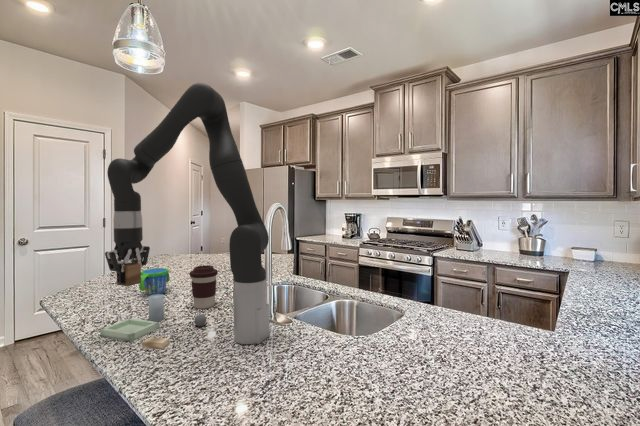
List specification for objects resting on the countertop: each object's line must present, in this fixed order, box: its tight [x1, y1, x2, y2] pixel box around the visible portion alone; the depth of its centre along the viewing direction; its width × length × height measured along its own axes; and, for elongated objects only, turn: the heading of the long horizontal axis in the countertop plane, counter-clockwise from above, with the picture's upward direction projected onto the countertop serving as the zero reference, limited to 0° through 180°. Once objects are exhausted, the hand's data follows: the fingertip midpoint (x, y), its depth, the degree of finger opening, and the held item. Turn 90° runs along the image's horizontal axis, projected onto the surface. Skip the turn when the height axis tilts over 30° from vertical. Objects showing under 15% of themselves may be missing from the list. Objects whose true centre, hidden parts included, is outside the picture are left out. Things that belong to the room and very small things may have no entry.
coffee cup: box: [189, 264, 218, 310], centre depth 125 cm, size 10×10×15 cm
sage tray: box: [99, 317, 160, 342], centre depth 101 cm, size 12×10×2 cm
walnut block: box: [116, 262, 142, 287], centre depth 100 cm, size 4×4×6 cm
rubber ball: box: [194, 314, 207, 327], centre depth 105 cm, size 4×4×4 cm
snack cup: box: [138, 267, 171, 297], centre depth 142 cm, size 16×10×10 cm
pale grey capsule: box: [147, 294, 165, 322], centre depth 111 cm, size 5×5×8 cm
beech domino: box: [141, 337, 170, 350], centre depth 91 cm, size 6×3×2 cm, turn 82°
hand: (129, 282), depth 100 cm, fingers closed on walnut block, 4 cm apart
